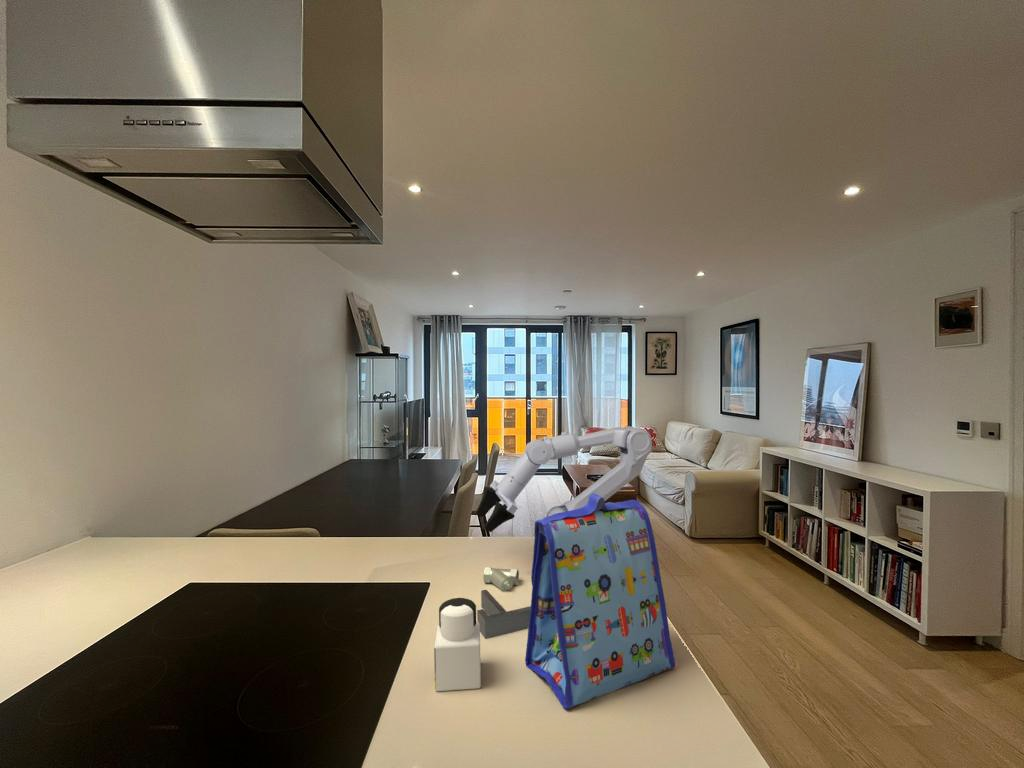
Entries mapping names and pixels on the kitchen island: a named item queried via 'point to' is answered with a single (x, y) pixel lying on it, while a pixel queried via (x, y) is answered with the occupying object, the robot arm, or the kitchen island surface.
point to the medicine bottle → (457, 646)
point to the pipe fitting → (501, 577)
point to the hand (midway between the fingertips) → (483, 522)
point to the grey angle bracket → (500, 617)
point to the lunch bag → (596, 601)
